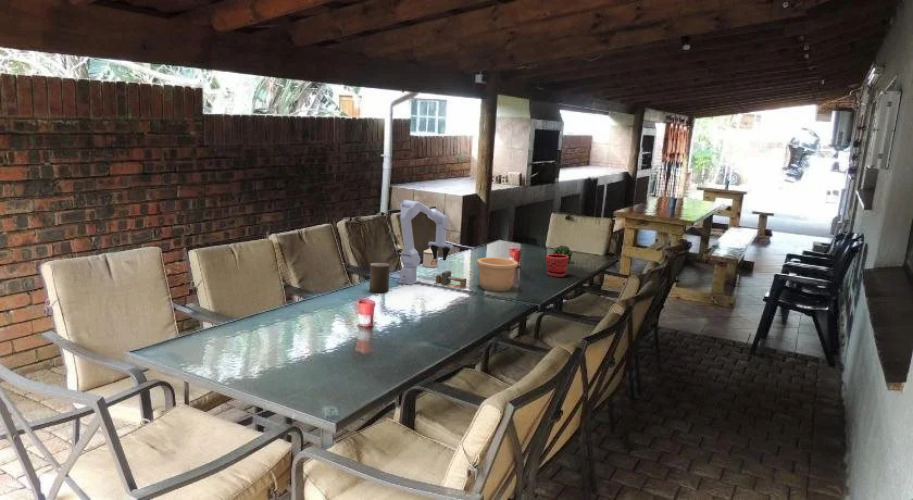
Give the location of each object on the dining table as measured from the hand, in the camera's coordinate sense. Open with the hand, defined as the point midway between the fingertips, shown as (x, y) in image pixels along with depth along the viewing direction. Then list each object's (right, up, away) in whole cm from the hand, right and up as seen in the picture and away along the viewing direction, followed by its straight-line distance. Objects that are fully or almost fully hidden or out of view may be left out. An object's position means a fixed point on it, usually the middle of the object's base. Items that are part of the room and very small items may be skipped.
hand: (439, 259), depth 367 cm
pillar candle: (-30, -16, -37) cm, 50 cm away
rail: (+6, -14, -17) cm, 23 cm away
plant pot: (+69, -10, +23) cm, 73 cm away
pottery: (+30, -15, -16) cm, 37 cm away
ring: (+4, -13, -16) cm, 21 cm away
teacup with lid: (-6, -4, +30) cm, 31 cm away
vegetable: (+79, -3, +61) cm, 99 cm away
